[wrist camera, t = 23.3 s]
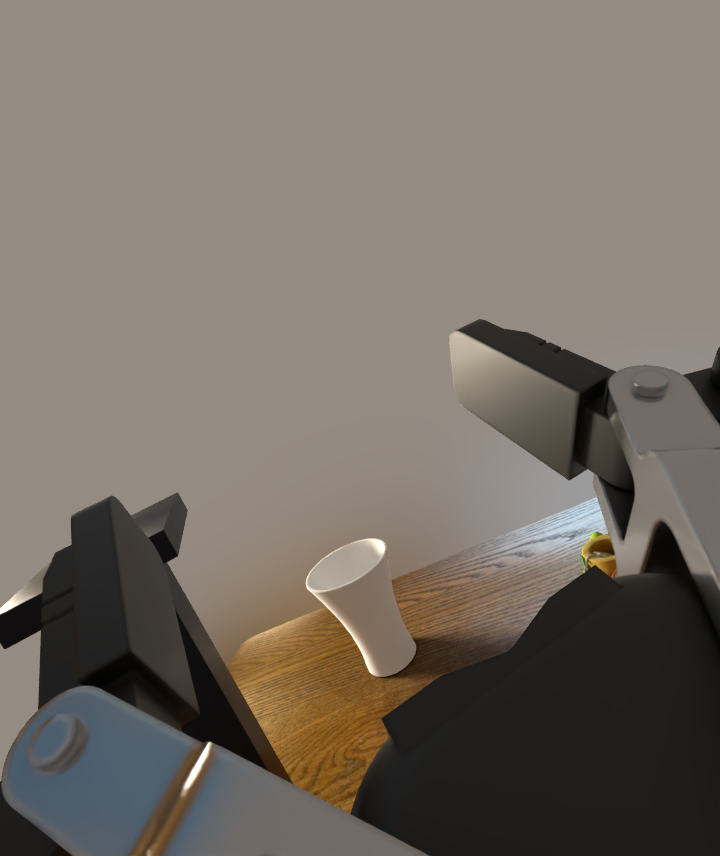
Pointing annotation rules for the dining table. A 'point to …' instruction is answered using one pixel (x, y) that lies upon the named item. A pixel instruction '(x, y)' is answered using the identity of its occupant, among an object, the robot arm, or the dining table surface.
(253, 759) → the stand
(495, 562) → the dining table surface
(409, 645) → the cup
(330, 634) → the dining table surface
